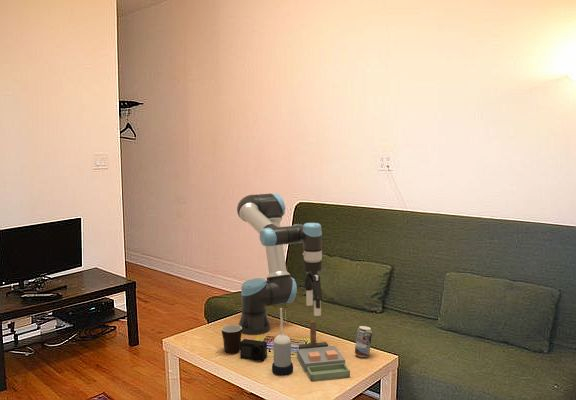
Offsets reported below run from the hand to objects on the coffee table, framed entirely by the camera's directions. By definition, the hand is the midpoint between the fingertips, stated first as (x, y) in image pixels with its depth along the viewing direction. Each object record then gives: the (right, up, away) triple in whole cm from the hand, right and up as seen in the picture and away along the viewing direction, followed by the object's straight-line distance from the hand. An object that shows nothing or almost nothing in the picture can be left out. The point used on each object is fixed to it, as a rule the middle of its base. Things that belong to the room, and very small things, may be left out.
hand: (313, 310), depth 214 cm
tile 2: (+7, -16, -13) cm, 21 cm away
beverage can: (+21, -18, -3) cm, 28 cm away
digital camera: (-25, -19, -4) cm, 32 cm away
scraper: (0, -18, +2) cm, 18 cm away
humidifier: (-13, -20, -16) cm, 29 cm away
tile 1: (0, -16, -14) cm, 21 cm away
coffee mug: (-34, -18, +5) cm, 39 cm away
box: (+5, -20, -20) cm, 29 cm away
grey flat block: (+2, -19, -9) cm, 21 cm away
